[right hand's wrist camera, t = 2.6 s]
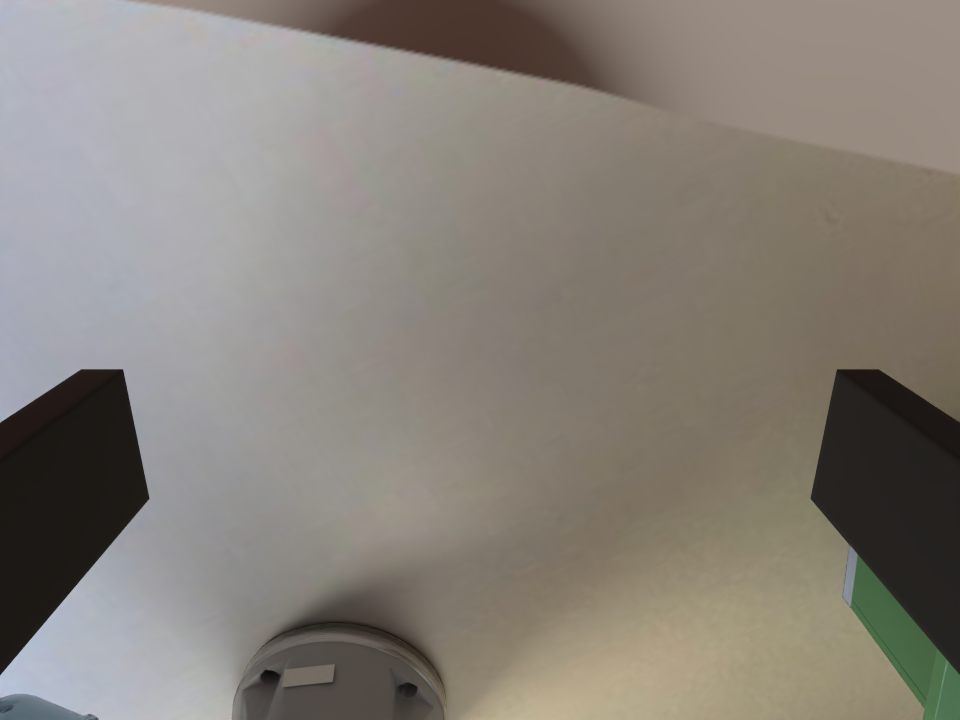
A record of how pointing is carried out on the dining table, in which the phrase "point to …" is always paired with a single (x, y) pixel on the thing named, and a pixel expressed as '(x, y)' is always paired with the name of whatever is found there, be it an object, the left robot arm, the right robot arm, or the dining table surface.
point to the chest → (890, 626)
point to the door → (943, 692)
